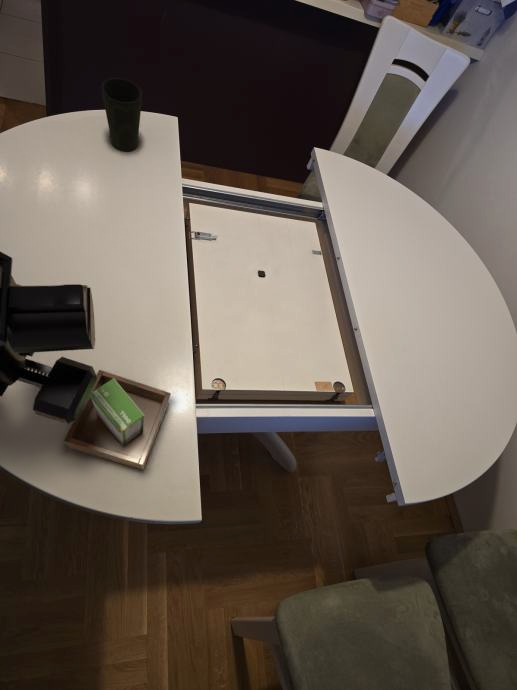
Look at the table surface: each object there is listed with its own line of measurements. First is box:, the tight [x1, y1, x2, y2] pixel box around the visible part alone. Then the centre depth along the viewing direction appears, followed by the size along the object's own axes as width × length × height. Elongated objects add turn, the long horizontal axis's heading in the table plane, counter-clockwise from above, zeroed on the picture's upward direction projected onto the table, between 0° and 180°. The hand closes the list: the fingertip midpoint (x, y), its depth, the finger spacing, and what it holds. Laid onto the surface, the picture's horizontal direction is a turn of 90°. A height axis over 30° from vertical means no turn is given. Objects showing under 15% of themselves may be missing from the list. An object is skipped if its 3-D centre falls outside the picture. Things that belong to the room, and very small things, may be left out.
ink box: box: [90, 378, 144, 446], centre depth 55 cm, size 7×4×13 cm, turn 44°
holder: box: [63, 369, 171, 471], centre depth 60 cm, size 11×11×5 cm
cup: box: [100, 77, 143, 153], centre depth 82 cm, size 8×8×12 cm
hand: (19, 392), depth 48 cm, fingers open, 9 cm apart
